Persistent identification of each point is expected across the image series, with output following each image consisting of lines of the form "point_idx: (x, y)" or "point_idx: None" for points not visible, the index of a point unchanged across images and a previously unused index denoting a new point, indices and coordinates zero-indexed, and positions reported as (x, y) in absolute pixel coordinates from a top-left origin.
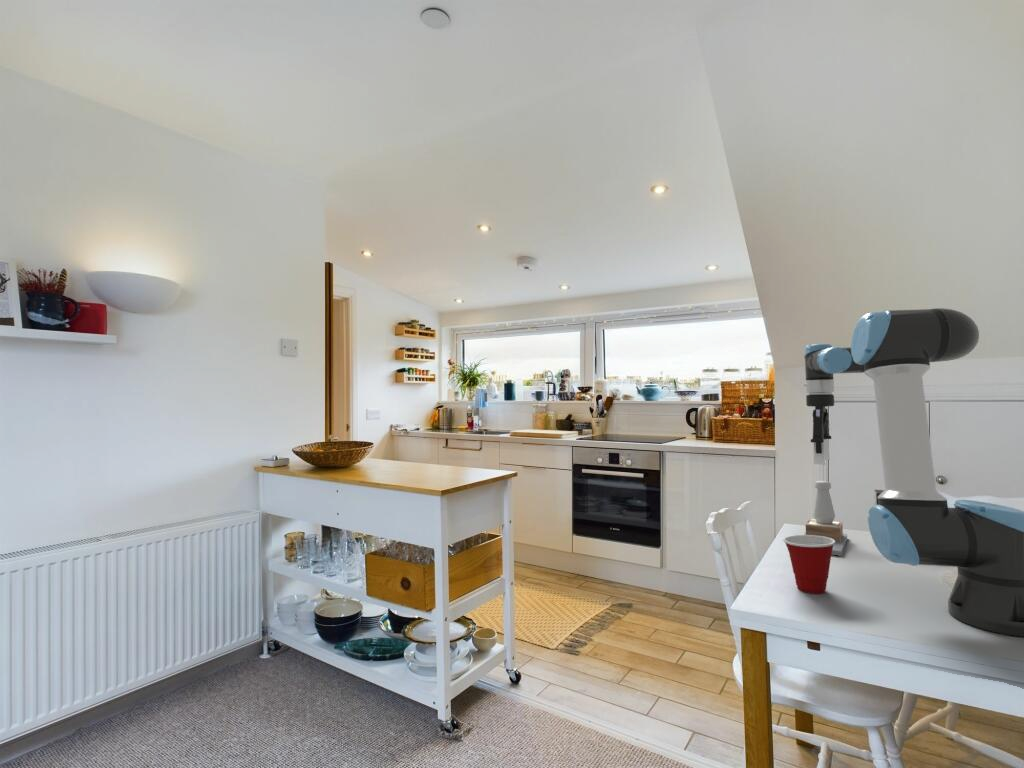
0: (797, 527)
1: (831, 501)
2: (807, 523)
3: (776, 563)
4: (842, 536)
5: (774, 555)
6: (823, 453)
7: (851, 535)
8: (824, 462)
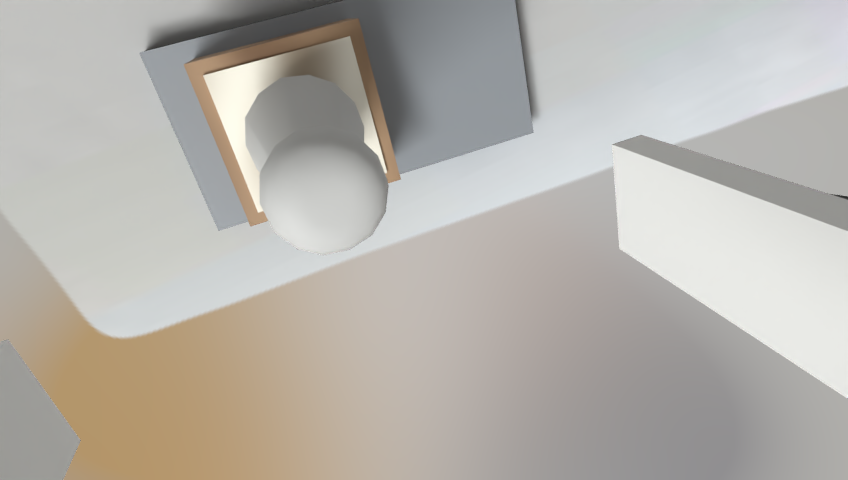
0: (133, 307)
1: (294, 107)
2: None
3: (714, 106)
4: (222, 50)
5: None
6: (763, 184)
7: (41, 60)
8: (660, 141)
